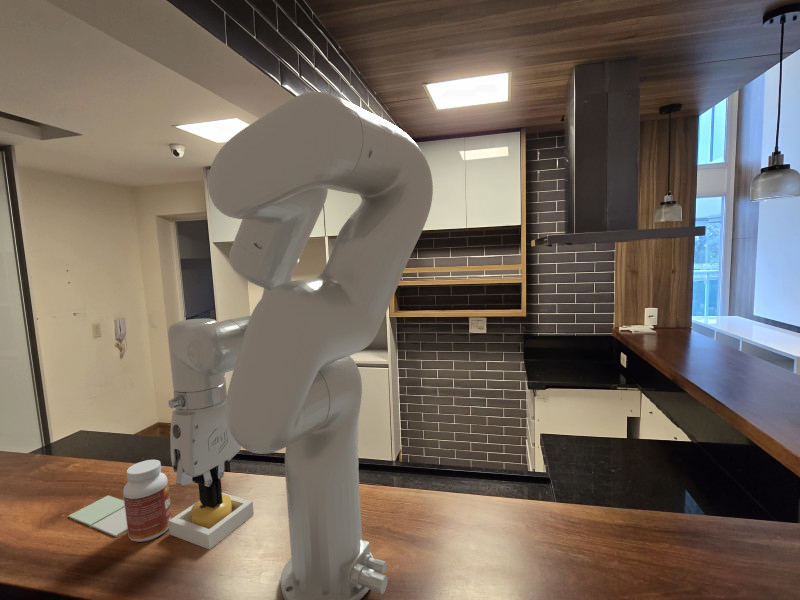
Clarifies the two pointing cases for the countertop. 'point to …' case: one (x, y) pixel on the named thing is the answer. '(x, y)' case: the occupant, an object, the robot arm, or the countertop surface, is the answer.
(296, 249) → the robot arm
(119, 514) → the grey square tile
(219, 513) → the dome
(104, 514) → the pale green square tile
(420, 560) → the countertop surface
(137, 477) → the pill bottle
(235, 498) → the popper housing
